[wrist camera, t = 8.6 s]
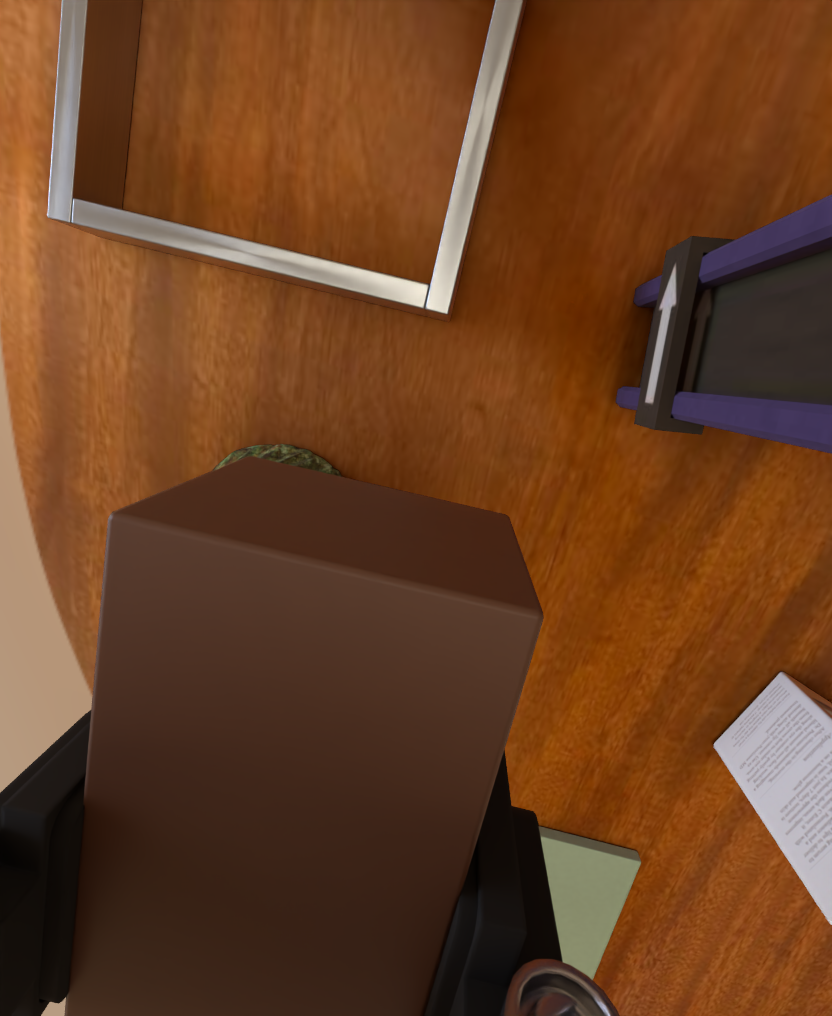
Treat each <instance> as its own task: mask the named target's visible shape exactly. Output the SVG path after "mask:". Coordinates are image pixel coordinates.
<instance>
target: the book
mask: <svg viewBox="0 0 832 1016" xmlns="http://www.w3.org/2000/svg"><path fill="white" fill-rule="evenodd" d="M633 303H635V304H636V305H637V306H638V307H649V308H654V312H653V317H652V322H651V328H650V333H649V339H648V344H647V349H646V355H645V360H644V365H643V371H642V376H641V381H640V387H639V388H637V387H626V386H623V387H622V388H620V389H618V392H617V397H616V403H617V404H618V405H619V406H620V407H624V408H628V409H633V410H637V412H636V417H635V422H634V424H637V425H640V426H644V427H647V428H650V429H654V430H662V431H672V432H682V433H692V434H702V432H703V427H704V425H705V426H710V427H714V428H719V429H723V430H728V431H732V432H737V433H741V434H746V435H750V436H755V437H759V438H764V439H768V440H773V441H777V442H782V443H787V444H791V445H796V446H800V447H805V448H809V449H814V450H818V451H823V452H827V453H832V195H829V196H827V197H825V198H823V199H821V200H819V201H817V202H815V203H813V204H810V205H808V206H806V207H804V208H802V209H800V210H798V211H796V212H794V213H791V214H789V215H787V216H785V217H783V218H781V219H779V220H777V221H775V222H772V223H770V224H768V225H766V226H764V227H762V228H760V229H758V230H756V231H753V232H751V233H749V234H747V235H745V236H743V237H741V238H739V239H737V240H732V239H720V238H709V237H697V236H691V237H690V238H688V239H686V240H684V241H683V242H681V243H679V244H677V245H676V246H674V247H672V248H671V249H669V250H667V251H666V256H665V261H664V267H663V272H662V275H661V276H658V277H656V278H654V279H652V280H650V281H648V282H646V283H644V284H642V285H640V286H639V287H638V288H636V290H635V296H634V301H633Z"/></svg>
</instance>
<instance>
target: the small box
mask: <svg viewBox="0 0 832 1016" xmlns="http://www.w3.org/2000/svg"><path fill="white" fill-rule="evenodd" d="M714 748H715V750H716V751H717V752H718V754H719V756H720V757H721V759H722V760H723V762H724V763H725V765H726V766H727V768H728V769H729V771H730V772H731V774H732V775H733V777H734V778H735V780H736V781H737V783H738V784H739V786H740V787H741V789H742V791H743V792H744V794H745V795H746V797H747V798H748V800H749V801H750V803H751V804H752V806H753V807H754V809H755V810H756V812H757V813H758V815H759V816H760V818H761V820H762V821H763V823H764V824H765V826H766V827H767V829H768V830H769V832H770V833H771V835H772V836H773V838H774V839H775V841H776V842H777V844H778V845H779V847H780V849H781V850H782V852H783V853H784V855H785V856H786V858H787V859H788V861H789V862H790V864H791V865H792V867H793V868H794V870H795V871H796V873H797V874H798V876H799V877H800V879H801V880H802V882H803V883H804V885H805V886H806V888H807V890H808V891H809V893H810V894H811V896H812V897H813V899H814V900H815V902H816V903H817V905H818V906H819V908H820V909H821V911H822V912H823V914H824V915H825V917H826V918H827V920H828V921H829V923H830V924H831V925H832V703H831V702H829V701H828V700H826V699H824V698H823V697H821V696H820V695H818V694H817V693H815V692H814V691H812V690H811V689H809V688H807V687H806V686H804V685H803V684H801V683H800V682H798V681H797V680H795V679H794V678H792V677H791V676H789V675H788V674H786V673H784V672H780V673H779V674H778V675H777V676H776V677H775V679H774V680H773V681H772V682H771V683H770V684H769V685H768V686H767V687H766V688H765V690H764V691H763V692H762V693H761V694H760V695H759V696H758V697H757V698H756V699H755V700H754V701H753V702H752V704H751V705H750V706H749V707H748V708H747V709H746V710H745V711H744V712H743V713H742V714H741V715H740V716H739V717H738V719H737V720H736V721H735V722H734V723H733V724H732V725H731V726H730V727H729V728H728V729H727V730H726V731H725V732H724V733H723V734H722V736H721V737H720V738H719V739H718V740H717V741H716V742H715V743H714Z"/></svg>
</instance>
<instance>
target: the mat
mask: <svg viewBox="0 0 832 1016" xmlns="http://www.w3.org/2000/svg"><path fill="white" fill-rule="evenodd" d="M539 831H540V836H541V842H542V848H543V853H544V859H545V865H546V870H547V876H548V881H549V887H550V893H551V898H552V904H553V910H554V915H555V921H556V926H557V932H558V938H559V943H560V949H561V955H562V960H563V963H567V964H570V965H572V966H573V967H575V968H576V969H578V970H580V971H581V972H583V973H584V974H586V975H588V976H589V977H590V978H591V979H592V980H593V977H594V975H595V973H596V970H597V968H598V965H599V963H600V961H601V958H602V956H603V953H604V951H605V948H606V946H607V944H608V941H609V939H610V936H611V934H612V932H613V929H614V927H615V924H616V922H617V920H618V917H619V915H620V912H621V910H622V908H623V905H624V903H625V900H626V898H627V896H628V893H629V891H630V888H631V886H632V883H633V881H634V879H635V876H636V874H637V871H638V869H639V867H640V864H641V860H640V858H639V855H638V852H637V851H634V850H630V849H626V848H623V847H619V846H615V845H611V844H607V843H603V842H599V841H595V840H591V839H588V838H584V837H580V836H576V835H572V834H568V833H564V832H560V831H556V830H552V829H549V828H545V827H541V826H539Z"/></svg>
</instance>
